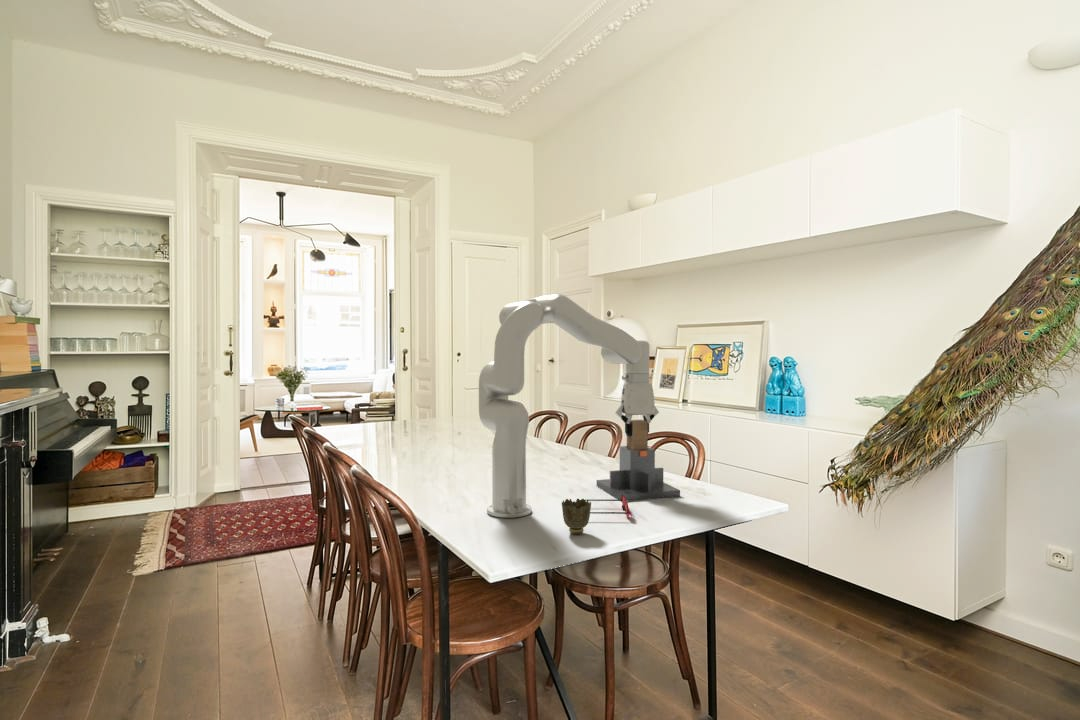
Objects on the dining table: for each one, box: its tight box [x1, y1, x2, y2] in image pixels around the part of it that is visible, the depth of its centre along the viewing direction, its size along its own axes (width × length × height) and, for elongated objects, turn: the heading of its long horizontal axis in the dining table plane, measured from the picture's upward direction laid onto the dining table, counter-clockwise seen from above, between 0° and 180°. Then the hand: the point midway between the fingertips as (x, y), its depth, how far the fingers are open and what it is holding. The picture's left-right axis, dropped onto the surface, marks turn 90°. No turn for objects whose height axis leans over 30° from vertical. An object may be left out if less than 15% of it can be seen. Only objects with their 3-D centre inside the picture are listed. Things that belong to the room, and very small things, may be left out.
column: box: [626, 418, 649, 450], centre depth 194 cm, size 5×5×19 cm
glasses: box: [584, 494, 633, 520], centre depth 169 cm, size 14×16×5 cm
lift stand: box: [596, 445, 681, 502], centre depth 194 cm, size 20×20×14 cm
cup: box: [561, 498, 592, 536], centre depth 151 cm, size 8×7×8 cm
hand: (637, 434), depth 193 cm, fingers closed on column, 5 cm apart
